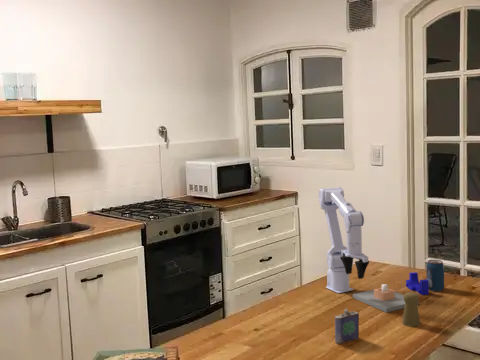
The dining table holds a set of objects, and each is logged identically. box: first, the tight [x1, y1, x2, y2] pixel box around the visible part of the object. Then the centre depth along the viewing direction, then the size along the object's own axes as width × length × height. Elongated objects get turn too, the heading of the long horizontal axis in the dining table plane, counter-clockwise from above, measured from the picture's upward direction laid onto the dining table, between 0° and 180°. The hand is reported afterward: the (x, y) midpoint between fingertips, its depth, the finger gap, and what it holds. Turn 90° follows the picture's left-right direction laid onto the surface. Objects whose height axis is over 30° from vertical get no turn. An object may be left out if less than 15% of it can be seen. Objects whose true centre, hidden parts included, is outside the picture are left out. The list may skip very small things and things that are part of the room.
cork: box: [402, 291, 421, 328], centre depth 196 cm, size 6×6×11 cm
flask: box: [334, 308, 360, 345], centre depth 184 cm, size 9×3×11 cm, turn 117°
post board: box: [352, 283, 419, 313], centre depth 220 cm, size 20×16×6 cm
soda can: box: [426, 259, 445, 292], centre depth 231 cm, size 7×7×12 cm
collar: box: [373, 287, 396, 301], centre depth 220 cm, size 6×6×3 cm
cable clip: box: [405, 271, 430, 296], centre depth 232 cm, size 12×4×6 cm, turn 6°
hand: (354, 276), depth 220 cm, fingers open, 7 cm apart
